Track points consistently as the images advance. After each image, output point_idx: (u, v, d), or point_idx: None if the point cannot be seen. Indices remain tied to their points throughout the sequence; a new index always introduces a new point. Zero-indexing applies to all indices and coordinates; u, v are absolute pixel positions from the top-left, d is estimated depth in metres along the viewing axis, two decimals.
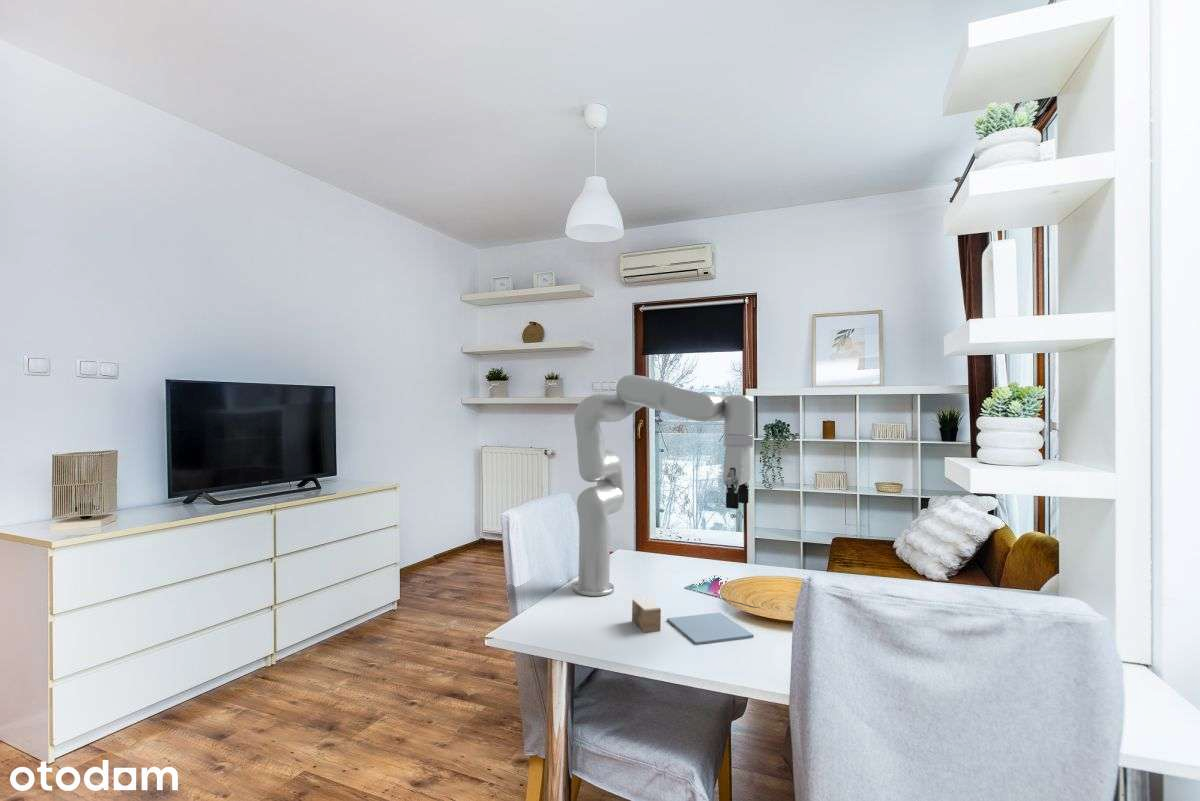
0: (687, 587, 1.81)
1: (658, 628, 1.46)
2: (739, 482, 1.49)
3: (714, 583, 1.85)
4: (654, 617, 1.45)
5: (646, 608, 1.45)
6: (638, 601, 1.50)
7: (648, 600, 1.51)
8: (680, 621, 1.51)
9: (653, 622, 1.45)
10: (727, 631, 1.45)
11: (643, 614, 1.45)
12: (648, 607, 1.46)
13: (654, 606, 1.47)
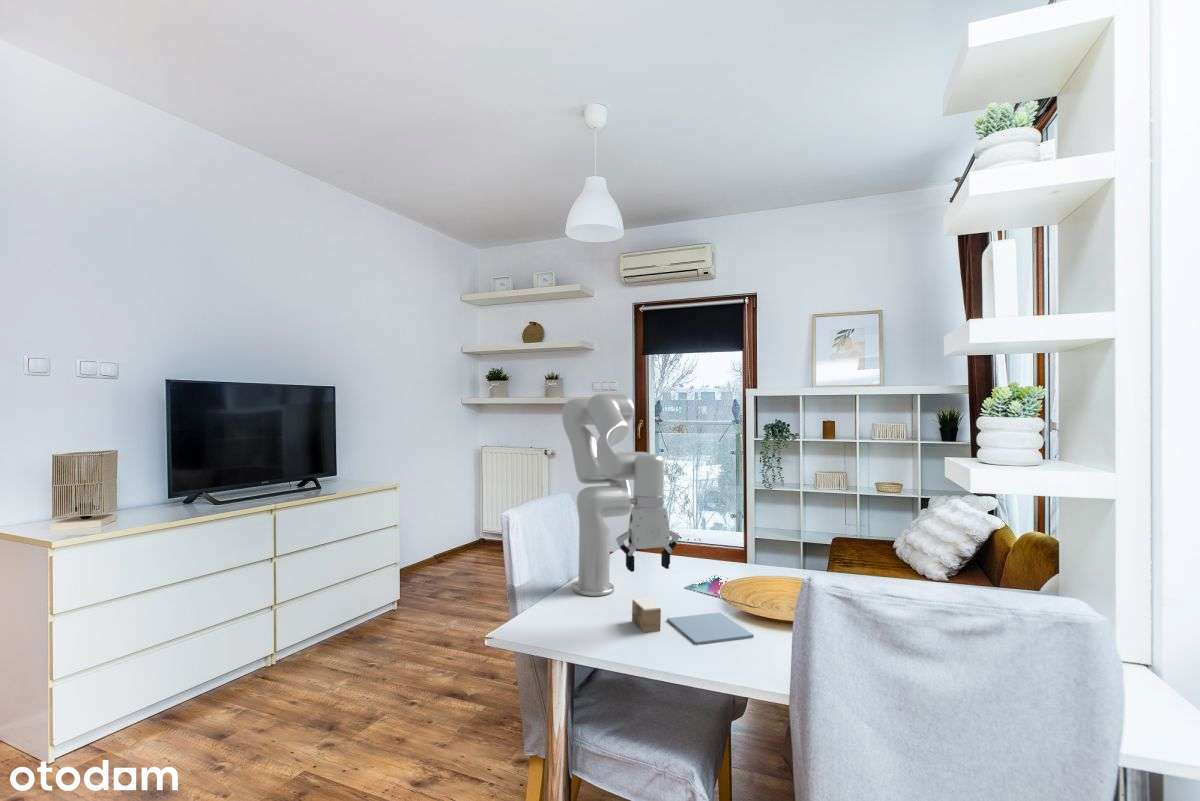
0: (687, 587, 1.81)
1: (658, 628, 1.46)
2: None
3: (714, 583, 1.85)
4: (654, 617, 1.45)
5: (646, 608, 1.45)
6: (638, 601, 1.50)
7: (648, 600, 1.51)
8: (680, 621, 1.51)
9: (653, 622, 1.45)
10: (727, 631, 1.45)
11: (643, 614, 1.45)
12: (648, 607, 1.46)
13: (654, 606, 1.47)
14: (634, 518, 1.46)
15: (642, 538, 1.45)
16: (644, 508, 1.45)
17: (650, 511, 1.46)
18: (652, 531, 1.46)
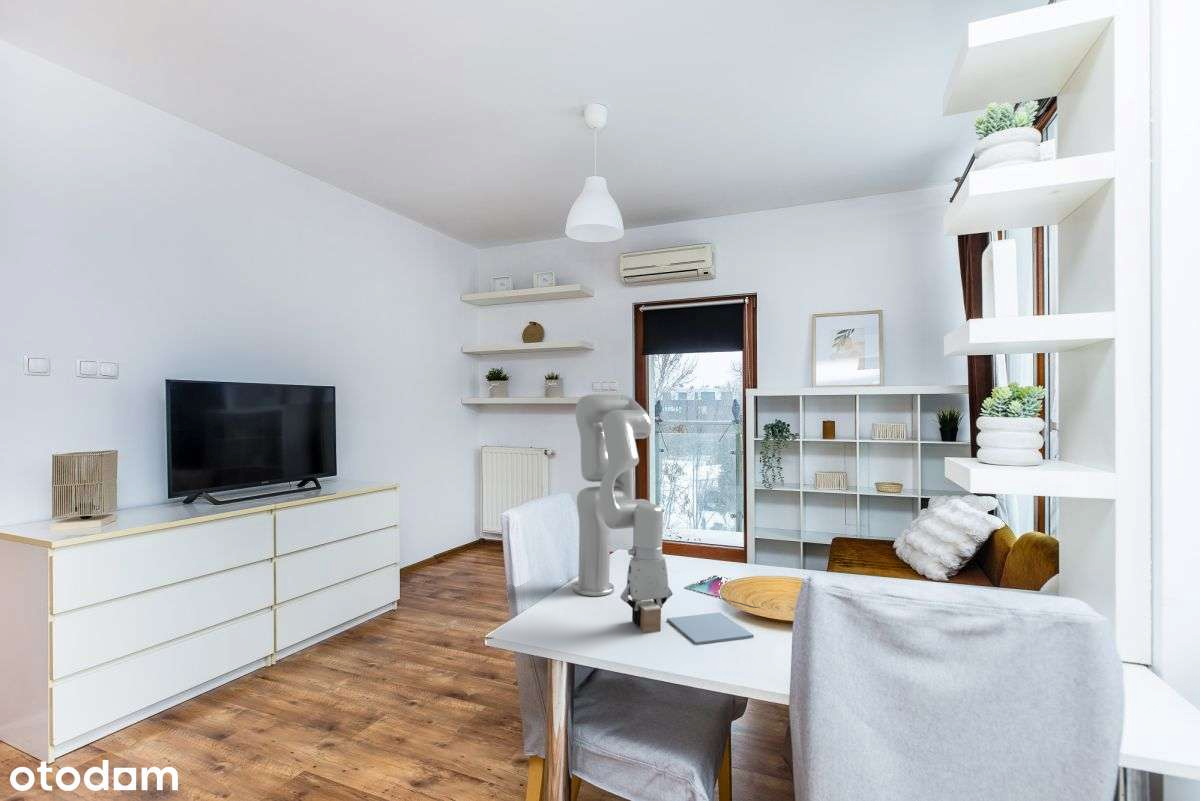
0: (687, 587, 1.81)
1: (658, 628, 1.46)
2: None
3: (714, 583, 1.85)
4: (654, 617, 1.45)
5: (646, 608, 1.45)
6: None
7: (648, 600, 1.51)
8: (680, 621, 1.51)
9: (653, 622, 1.45)
10: (727, 631, 1.45)
11: (643, 613, 1.45)
12: (648, 607, 1.46)
13: (654, 606, 1.47)
14: (633, 570, 1.46)
15: (640, 590, 1.45)
16: (643, 560, 1.46)
17: (649, 563, 1.46)
18: (650, 583, 1.46)
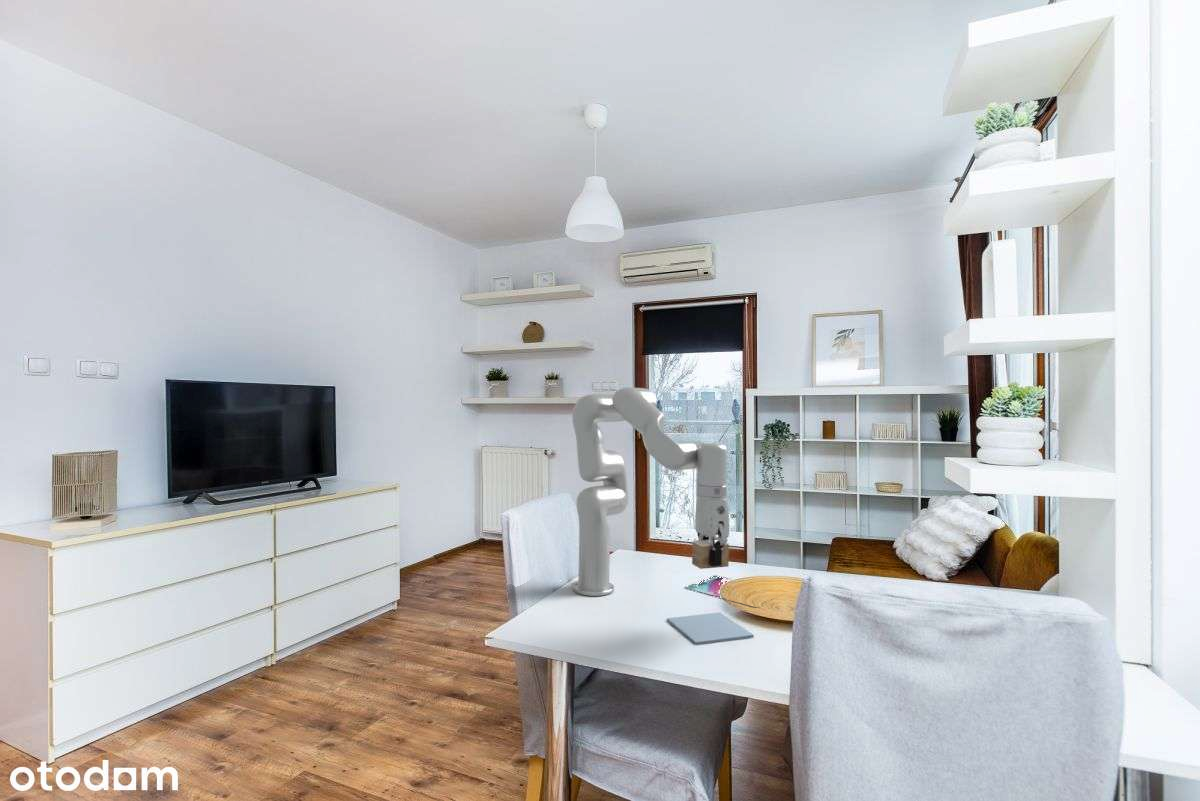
0: (687, 587, 1.81)
1: None
2: None
3: (714, 583, 1.85)
4: None
5: None
6: (707, 543, 1.46)
7: (701, 541, 1.49)
8: (680, 621, 1.51)
9: None
10: (727, 631, 1.45)
11: (726, 548, 1.47)
12: None
13: (717, 540, 1.50)
14: (726, 508, 1.44)
15: None
16: (725, 496, 1.47)
17: None
18: None
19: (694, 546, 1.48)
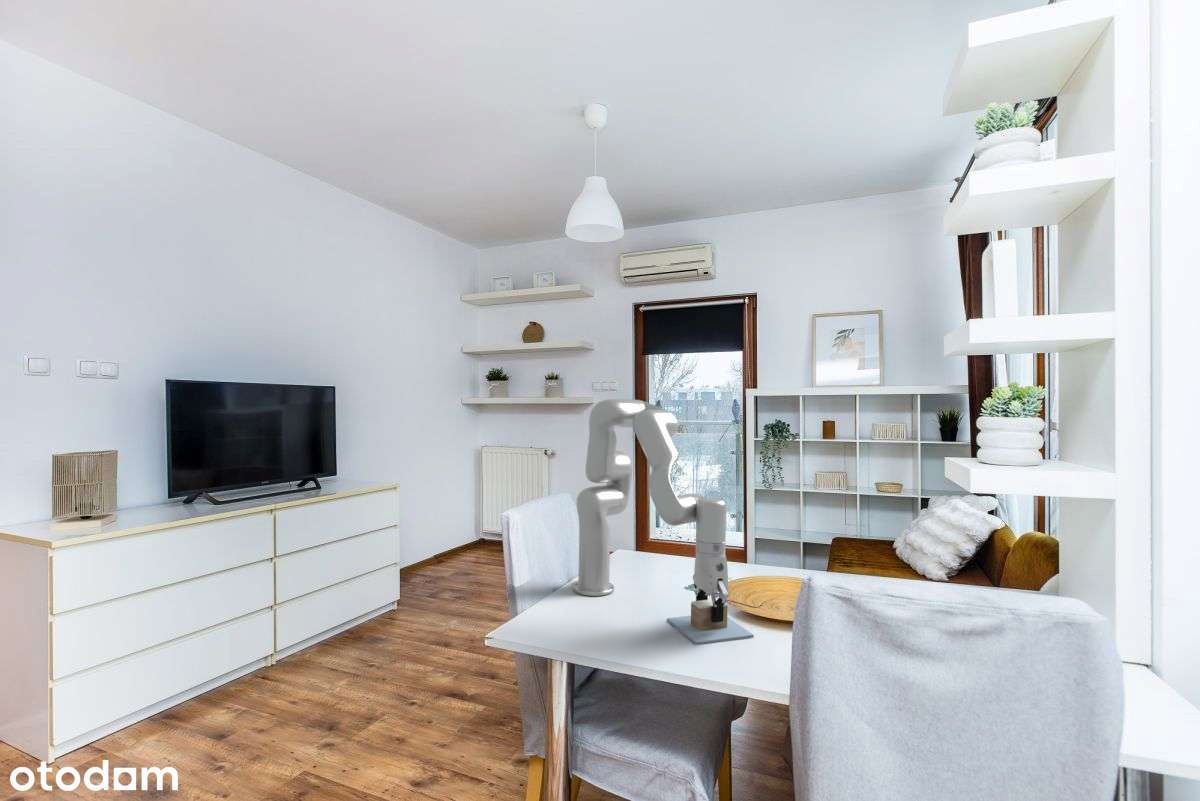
0: (687, 587, 1.81)
1: None
2: None
3: None
4: None
5: None
6: (706, 605, 1.46)
7: (700, 601, 1.49)
8: (680, 621, 1.51)
9: None
10: (727, 631, 1.45)
11: (724, 610, 1.47)
12: None
13: (716, 600, 1.50)
14: (725, 565, 1.44)
15: None
16: None
17: None
18: None
19: (693, 607, 1.48)
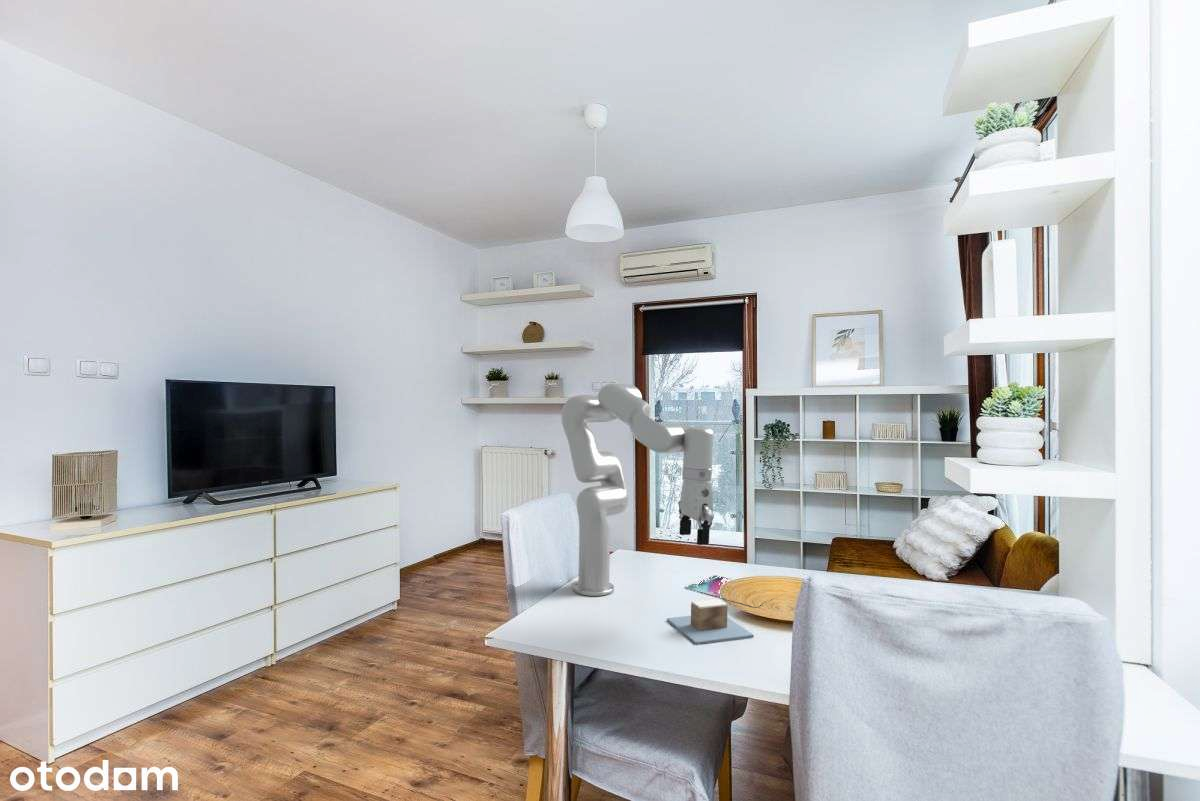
0: (687, 587, 1.81)
1: None
2: None
3: (714, 583, 1.85)
4: None
5: (723, 603, 1.48)
6: (706, 605, 1.46)
7: (700, 601, 1.49)
8: (680, 621, 1.51)
9: None
10: (727, 631, 1.45)
11: (724, 610, 1.47)
12: (720, 602, 1.49)
13: (716, 600, 1.50)
14: (711, 491, 1.48)
15: None
16: (710, 480, 1.50)
17: None
18: None
19: (693, 607, 1.48)
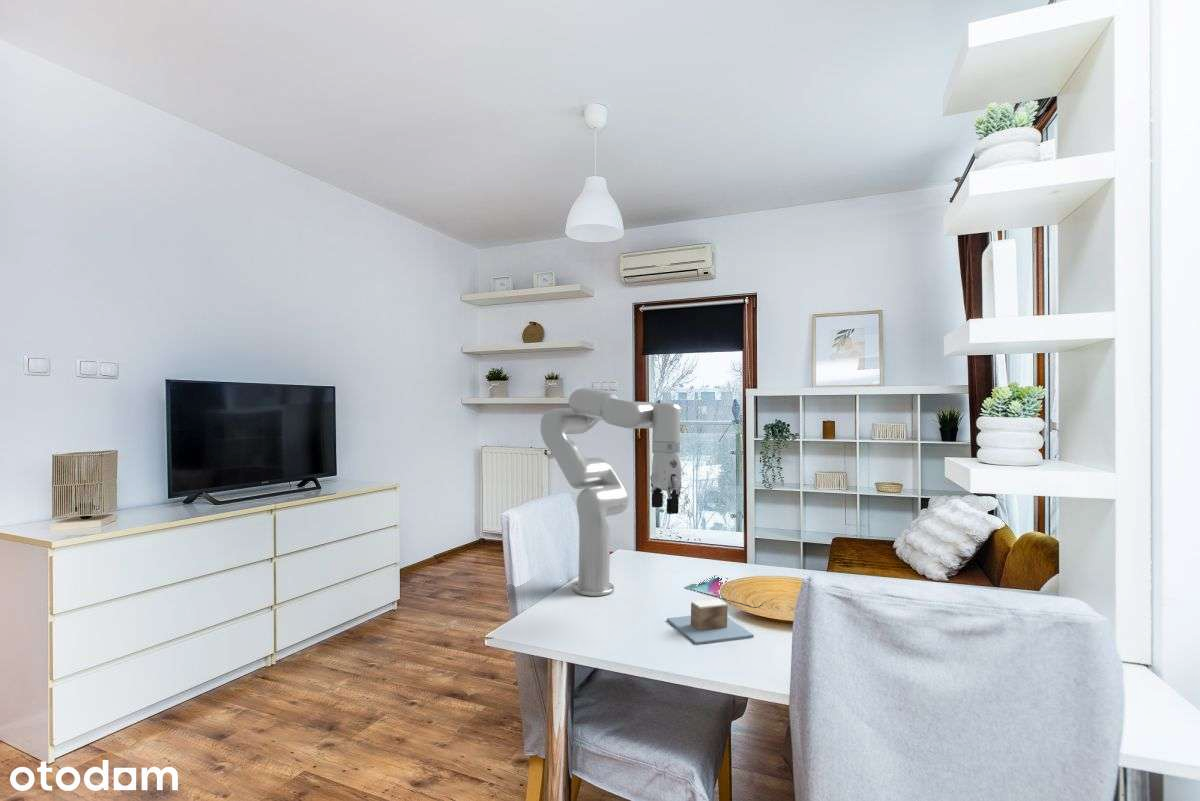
0: (687, 587, 1.81)
1: None
2: None
3: (714, 583, 1.85)
4: None
5: (723, 603, 1.48)
6: (706, 605, 1.46)
7: (700, 601, 1.49)
8: (680, 621, 1.51)
9: None
10: (727, 631, 1.45)
11: (724, 610, 1.47)
12: (720, 602, 1.49)
13: (716, 600, 1.50)
14: (679, 462, 1.55)
15: None
16: (679, 452, 1.57)
17: None
18: None
19: (693, 607, 1.48)
